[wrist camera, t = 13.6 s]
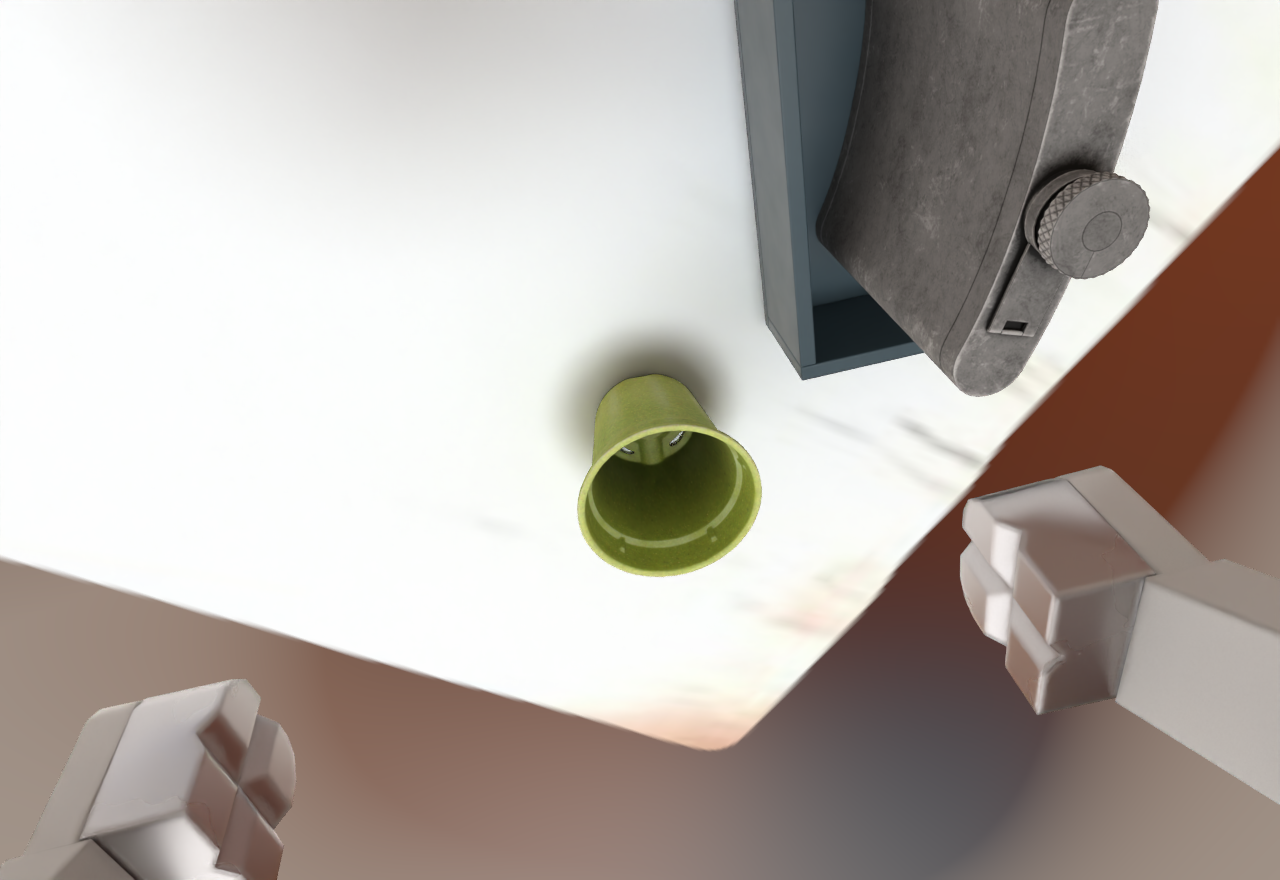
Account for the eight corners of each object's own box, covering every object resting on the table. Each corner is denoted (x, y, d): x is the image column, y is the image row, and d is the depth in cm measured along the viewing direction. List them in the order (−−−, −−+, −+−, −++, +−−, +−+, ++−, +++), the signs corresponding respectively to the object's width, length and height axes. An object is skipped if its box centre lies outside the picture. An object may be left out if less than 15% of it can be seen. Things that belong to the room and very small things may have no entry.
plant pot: (534, 442, 49) (541, 536, 42) (625, 316, 45) (649, 394, 38) (662, 504, 53) (688, 600, 46) (755, 392, 49) (799, 476, 42)
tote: (720, -135, 35) (762, -140, 29) (1010, -197, 35) (1105, -214, 30) (766, 325, 47) (801, 381, 42) (982, 275, 47) (1046, 325, 42)
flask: (951, -59, 37) (1259, -28, 22) (875, 251, 45) (1066, 428, 30) (874, -67, 37) (1137, -41, 22) (810, 249, 44) (972, 428, 29)
